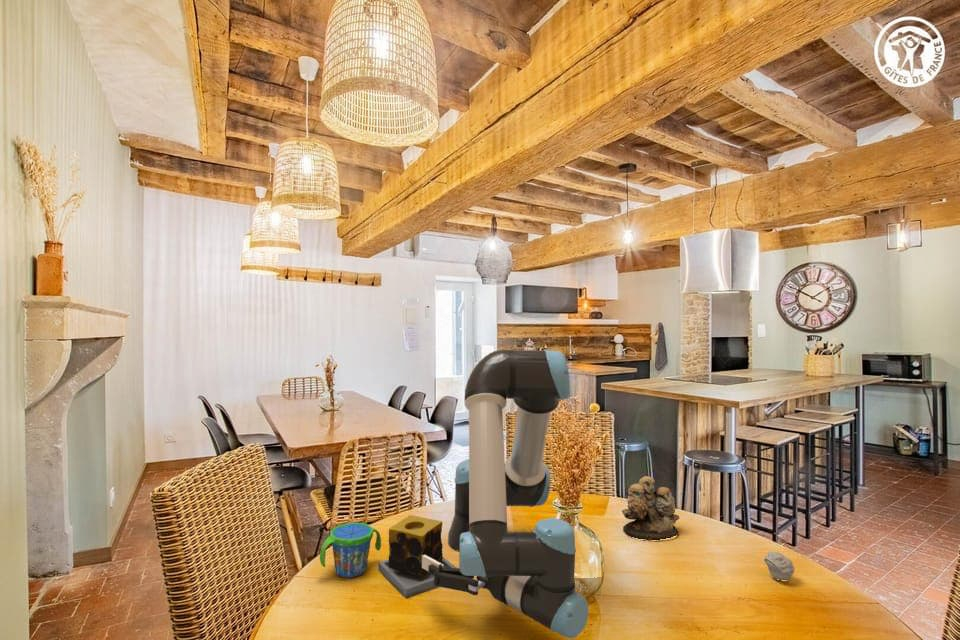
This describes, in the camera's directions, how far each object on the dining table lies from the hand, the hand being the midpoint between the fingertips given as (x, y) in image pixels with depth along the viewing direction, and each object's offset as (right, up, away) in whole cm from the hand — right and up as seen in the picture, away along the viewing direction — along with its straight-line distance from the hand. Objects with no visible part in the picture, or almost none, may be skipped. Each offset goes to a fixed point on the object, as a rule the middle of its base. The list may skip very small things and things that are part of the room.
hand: (445, 551), depth 113 cm
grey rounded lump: (+83, -11, +7) cm, 84 cm away
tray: (-7, -9, +7) cm, 13 cm away
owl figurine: (+60, -11, +33) cm, 69 cm away
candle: (-8, -7, +8) cm, 13 cm away
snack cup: (-24, -9, +8) cm, 27 cm away
